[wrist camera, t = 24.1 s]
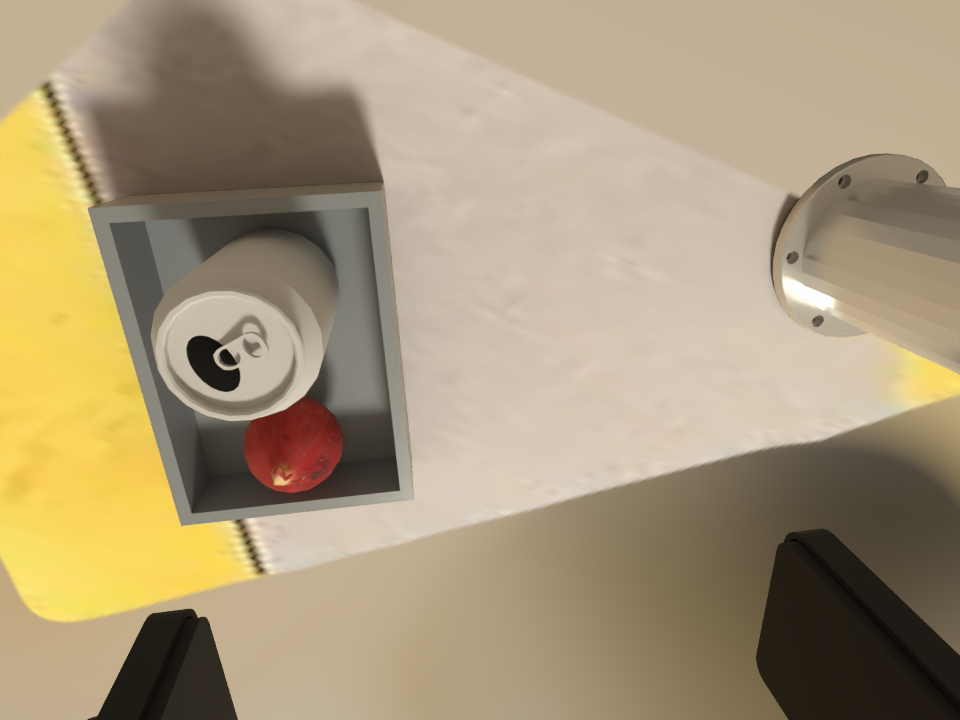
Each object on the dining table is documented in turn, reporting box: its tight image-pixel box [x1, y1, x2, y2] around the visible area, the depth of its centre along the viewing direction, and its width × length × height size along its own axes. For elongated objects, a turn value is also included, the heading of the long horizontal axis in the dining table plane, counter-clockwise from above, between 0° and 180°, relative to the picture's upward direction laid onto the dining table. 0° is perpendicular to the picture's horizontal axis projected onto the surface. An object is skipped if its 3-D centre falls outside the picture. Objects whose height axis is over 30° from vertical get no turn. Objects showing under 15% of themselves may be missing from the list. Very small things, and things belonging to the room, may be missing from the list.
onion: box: [244, 397, 343, 493], centre depth 36 cm, size 6×6×8 cm
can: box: [151, 228, 340, 421], centre depth 31 cm, size 8×8×12 cm
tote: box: [88, 181, 414, 526], centre depth 36 cm, size 15×20×5 cm
